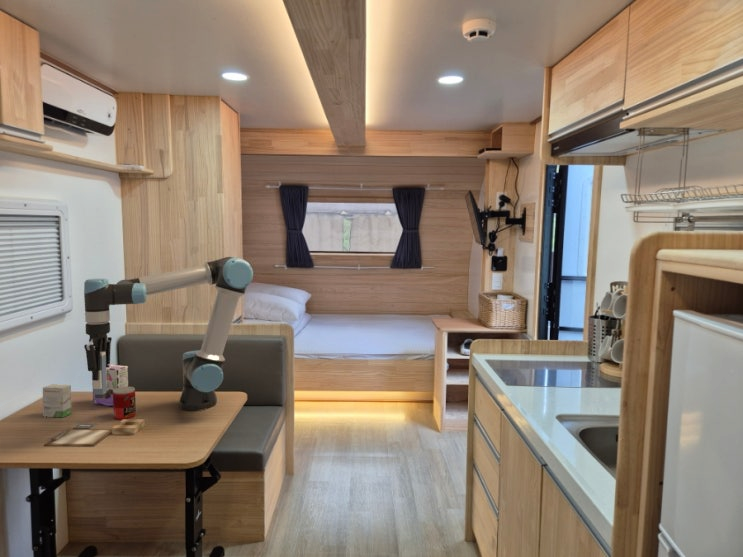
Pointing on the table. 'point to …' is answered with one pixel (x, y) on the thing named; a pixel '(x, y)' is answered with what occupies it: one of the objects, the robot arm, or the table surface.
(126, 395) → the canned food
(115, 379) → the candy box
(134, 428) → the pen stand
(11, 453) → the table surface
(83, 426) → the plate
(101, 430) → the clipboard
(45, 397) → the ink box
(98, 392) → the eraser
